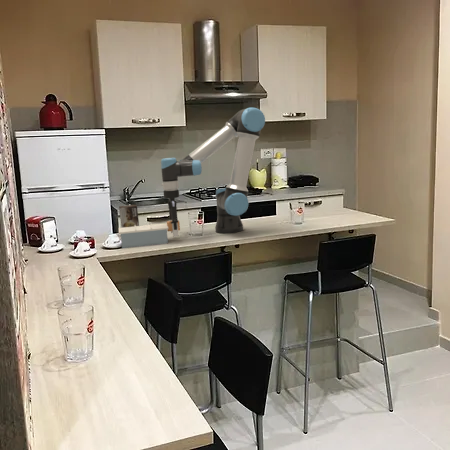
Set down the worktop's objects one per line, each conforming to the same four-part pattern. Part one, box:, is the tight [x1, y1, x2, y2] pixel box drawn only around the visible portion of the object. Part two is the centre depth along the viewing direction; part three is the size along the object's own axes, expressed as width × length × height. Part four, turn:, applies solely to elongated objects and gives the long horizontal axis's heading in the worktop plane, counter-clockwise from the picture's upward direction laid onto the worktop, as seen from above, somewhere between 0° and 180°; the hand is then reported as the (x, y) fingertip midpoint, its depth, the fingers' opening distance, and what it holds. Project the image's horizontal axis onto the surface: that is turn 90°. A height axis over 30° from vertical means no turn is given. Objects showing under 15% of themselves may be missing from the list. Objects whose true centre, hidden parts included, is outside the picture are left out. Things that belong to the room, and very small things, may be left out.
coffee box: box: [118, 204, 140, 228], centre depth 286 cm, size 9×6×16 cm
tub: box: [120, 229, 169, 249], centre depth 256 cm, size 22×12×8 cm, turn 101°
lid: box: [118, 220, 181, 235], centre depth 256 cm, size 30×13×4 cm, turn 101°
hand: (174, 234), depth 259 cm, fingers open, 10 cm apart
